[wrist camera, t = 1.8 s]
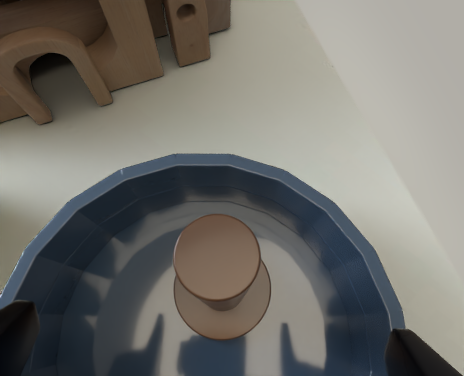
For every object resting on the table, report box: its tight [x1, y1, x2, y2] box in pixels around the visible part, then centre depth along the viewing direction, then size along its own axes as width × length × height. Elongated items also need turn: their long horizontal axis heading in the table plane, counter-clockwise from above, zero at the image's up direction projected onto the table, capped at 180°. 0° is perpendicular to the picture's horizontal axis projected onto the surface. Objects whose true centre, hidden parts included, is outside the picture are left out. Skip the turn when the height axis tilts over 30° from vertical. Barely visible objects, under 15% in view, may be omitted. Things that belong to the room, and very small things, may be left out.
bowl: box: [0, 154, 405, 376], centre depth 16 cm, size 15×15×6 cm
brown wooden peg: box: [173, 214, 271, 340], centre depth 14 cm, size 5×5×10 cm
